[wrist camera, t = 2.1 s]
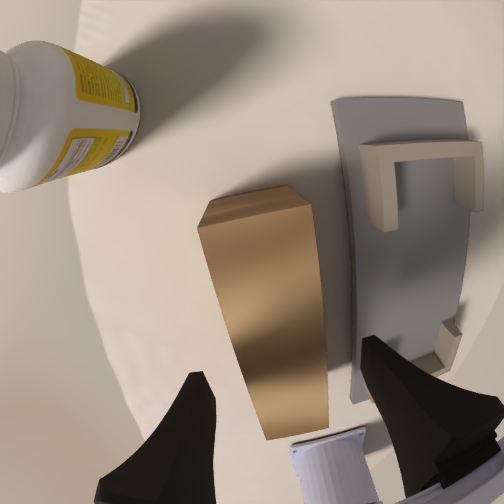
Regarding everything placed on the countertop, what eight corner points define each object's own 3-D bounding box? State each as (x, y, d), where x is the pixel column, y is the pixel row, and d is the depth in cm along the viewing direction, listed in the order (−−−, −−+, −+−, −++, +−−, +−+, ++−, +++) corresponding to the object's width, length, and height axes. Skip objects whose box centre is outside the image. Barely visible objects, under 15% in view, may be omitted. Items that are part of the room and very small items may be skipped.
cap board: (436, 365, 20) (449, 384, 18) (349, 397, 20) (359, 422, 18) (454, 102, 12) (484, 101, 10) (330, 101, 12) (351, 93, 10)
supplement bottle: (72, 71, 11) (-58, 41, 2) (155, 76, 11) (40, -2, 2) (52, 161, 12) (-84, 203, 3) (130, 176, 13) (-8, 238, 4)
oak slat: (313, 375, 19) (328, 427, 15) (261, 386, 19) (266, 440, 15) (286, 184, 14) (310, 204, 9) (210, 200, 14) (197, 228, 10)
